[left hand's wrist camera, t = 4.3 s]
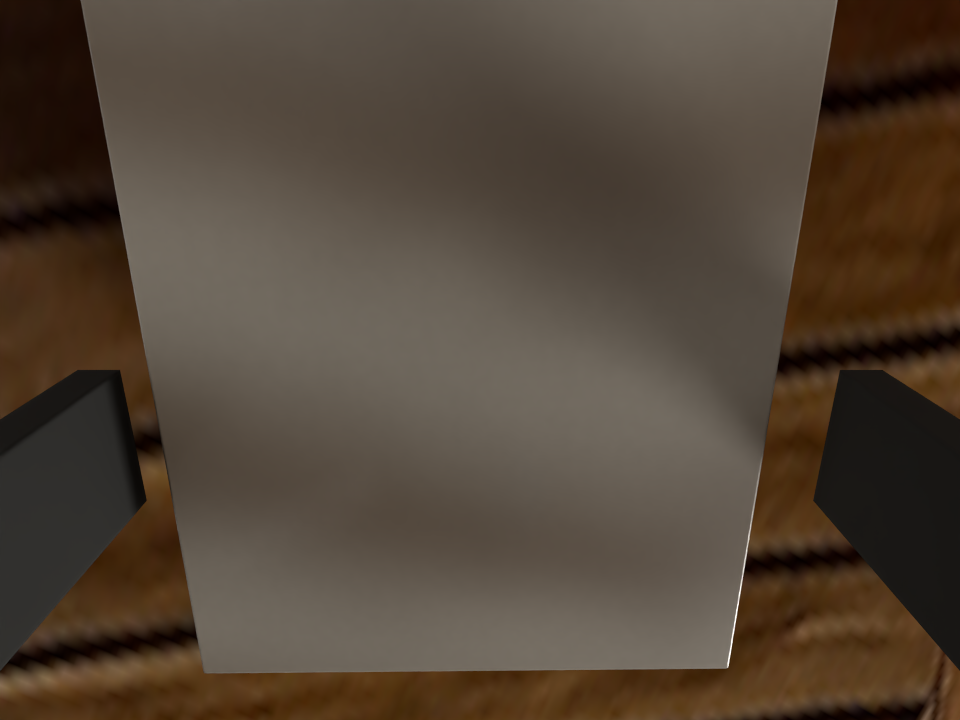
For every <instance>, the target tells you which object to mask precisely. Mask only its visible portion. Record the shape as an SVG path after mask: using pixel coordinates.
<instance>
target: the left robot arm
mask: <svg viewBox="0 0 960 720" xmlns="http://www.w3.org/2000/svg"><path fill="white" fill-rule="evenodd" d="M146 501H147V500H146V495H145V490H144V485H143V480H142V475H141V471H140V466H139V461H138V456H137V451H136V446H135V441H134V437H133V432H132V427H131V422H130V417H129V412H128V407H127V402H126V398H125V393H124V388H123V383H122V378H121V373H120V370H77V371H76V372H74V373H72V374H71V375H69V376H68V377H66V378H65V379H63V380H62V381H60V382H58V383H57V384H55V385H54V386H52V387H51V388H49V389H47V390H46V391H44V392H43V393H41V394H40V395H38V396H36V397H35V398H33V399H32V400H30V401H29V402H27V403H25V404H24V405H22V406H21V407H19V408H18V409H16V410H14V411H13V412H11V413H10V414H8V415H7V416H5V417H4V418H2V419H0V670H1V669H2V668H3V667H4V666H5V664H6V663H7V662H8V661H9V660H10V659H11V657H12V656H13V655H14V654H15V653H16V652H17V650H18V649H19V648H20V647H21V646H22V645H23V644H24V642H25V641H26V640H27V639H28V638H29V637H30V635H31V634H32V633H33V632H34V631H35V630H36V628H37V627H38V626H39V625H40V624H41V623H42V621H43V620H44V619H45V618H46V617H47V616H48V614H49V613H50V612H51V611H52V610H53V609H54V608H55V606H56V605H57V604H58V603H59V602H60V601H61V599H62V598H63V597H64V596H65V595H66V594H67V592H68V591H69V590H70V589H71V588H72V587H73V585H74V584H75V583H76V582H77V581H78V580H79V578H80V577H81V576H82V575H83V574H84V573H85V572H86V570H87V569H88V568H89V567H90V566H91V565H92V563H93V562H94V561H95V560H96V559H97V558H98V556H99V555H100V554H101V553H102V552H103V551H104V549H105V548H106V547H107V546H108V545H109V544H110V542H111V541H112V540H113V539H114V538H115V537H116V536H117V534H118V533H119V532H120V531H121V530H122V529H123V527H124V526H125V525H126V524H127V523H128V522H129V520H130V519H131V518H132V517H133V516H134V515H135V513H136V512H137V511H138V510H139V509H140V508H141V506H142V505H143V504H144V503H145V502H146ZM813 501H814V502H815V503H816V504H817V505H818V506H819V508H820V509H821V510H822V511H823V512H824V513H825V515H826V516H827V517H828V518H829V519H830V520H831V522H832V523H833V524H834V525H835V526H836V527H837V529H838V530H839V531H840V532H841V533H842V534H843V536H844V537H845V538H846V539H847V540H848V541H849V542H850V544H851V545H852V546H853V547H854V548H855V549H856V551H857V552H858V553H859V554H860V555H861V556H862V558H863V559H864V560H865V561H866V562H867V563H868V565H869V566H870V567H871V568H872V569H873V570H874V572H875V573H876V574H877V575H878V576H879V577H880V578H881V580H882V581H883V582H884V583H885V584H886V585H887V587H888V588H889V589H890V590H891V591H892V592H893V594H894V595H895V596H896V597H897V598H898V599H899V601H900V602H901V603H902V604H903V605H904V606H905V608H906V609H907V610H908V611H909V612H910V613H911V614H912V616H913V617H914V618H915V619H916V620H917V621H918V623H919V624H920V625H921V626H922V627H923V628H924V630H925V631H926V632H927V633H928V634H929V635H930V637H931V638H932V639H933V640H934V641H935V642H936V644H937V645H938V646H939V647H940V648H941V649H942V650H943V652H944V653H945V654H946V655H947V656H948V657H949V659H950V660H951V661H952V662H953V663H954V664H955V666H956V667H957V668H958V669H959V670H960V419H958V418H956V417H955V416H953V415H952V414H950V413H949V412H947V411H946V410H944V409H942V408H941V407H939V406H938V405H936V404H935V403H933V402H931V401H930V400H928V399H927V398H925V397H924V396H922V395H920V394H919V393H917V392H916V391H914V390H913V389H911V388H909V387H908V386H906V385H905V384H903V383H902V382H900V381H898V380H897V379H895V378H894V377H892V376H891V375H889V374H888V373H886V372H884V371H883V370H840V373H839V378H838V383H837V388H836V393H835V398H834V402H833V407H832V412H831V417H830V422H829V427H828V432H827V437H826V441H825V446H824V451H823V456H822V461H821V466H820V471H819V475H818V480H817V485H816V490H815V495H814V500H813Z"/></svg>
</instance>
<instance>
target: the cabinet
mask: <svg viewBox="0 0 960 720" xmlns="http://www.w3.org/2000/svg"><path fill="white" fill-rule="evenodd" d="M81 4H82V10H83V15H84V20H85V26H86V31H87V37H88V42H89V48H90V53H91V59H92V64H93V70H94V75H95V81H96V86H97V91H98V97H99V102H100V108H101V113H102V119H103V124H104V130H105V135H106V141H107V146H108V152H109V157H110V162H111V168H112V173H113V179H114V184H115V190H116V195H117V201H118V206H119V212H120V217H121V223H122V228H123V234H124V239H125V244H126V250H127V255H128V261H129V266H130V272H131V277H132V283H133V288H134V294H135V299H136V305H137V310H138V315H139V321H140V326H141V332H142V337H143V343H144V348H145V354H146V359H147V365H148V370H149V376H150V381H151V386H152V392H153V397H154V403H155V408H156V414H157V419H158V425H159V430H160V436H161V441H162V447H163V452H164V457H165V463H166V468H167V474H168V479H169V485H170V490H171V496H172V501H173V507H174V512H175V518H176V523H177V528H178V534H179V539H180V545H181V550H182V556H183V561H184V567H185V572H186V578H187V583H188V589H189V594H190V599H191V605H192V610H193V616H194V621H195V627H196V632H197V638H198V643H199V649H200V654H201V660H202V665H203V671H204V673H277V672H383V671H490V670H597V669H704V668H728V665H729V659H730V653H731V647H732V641H733V635H734V629H735V623H736V617H737V610H738V604H739V598H740V592H741V586H742V580H743V574H744V568H745V562H746V556H747V549H748V543H749V537H750V531H751V525H752V519H753V513H754V507H755V501H756V495H757V488H758V482H759V476H760V470H761V464H762V458H763V452H764V446H765V440H766V433H767V427H768V421H769V415H770V409H771V403H772V397H773V391H774V385H775V379H776V372H777V366H778V360H779V354H780V348H781V342H782V336H783V330H784V324H785V318H786V311H787V305H788V299H789V293H790V287H791V281H792V275H793V269H794V263H795V257H796V250H797V244H798V238H799V232H800V226H801V220H802V214H803V208H804V202H805V195H806V189H807V183H808V177H809V171H810V165H811V159H812V153H813V147H814V141H815V134H816V128H817V122H818V116H819V110H820V104H821V98H822V92H823V86H824V80H825V73H826V67H827V61H828V55H829V49H830V43H831V37H832V31H833V25H834V18H835V12H836V6H837V0H81Z"/></svg>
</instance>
